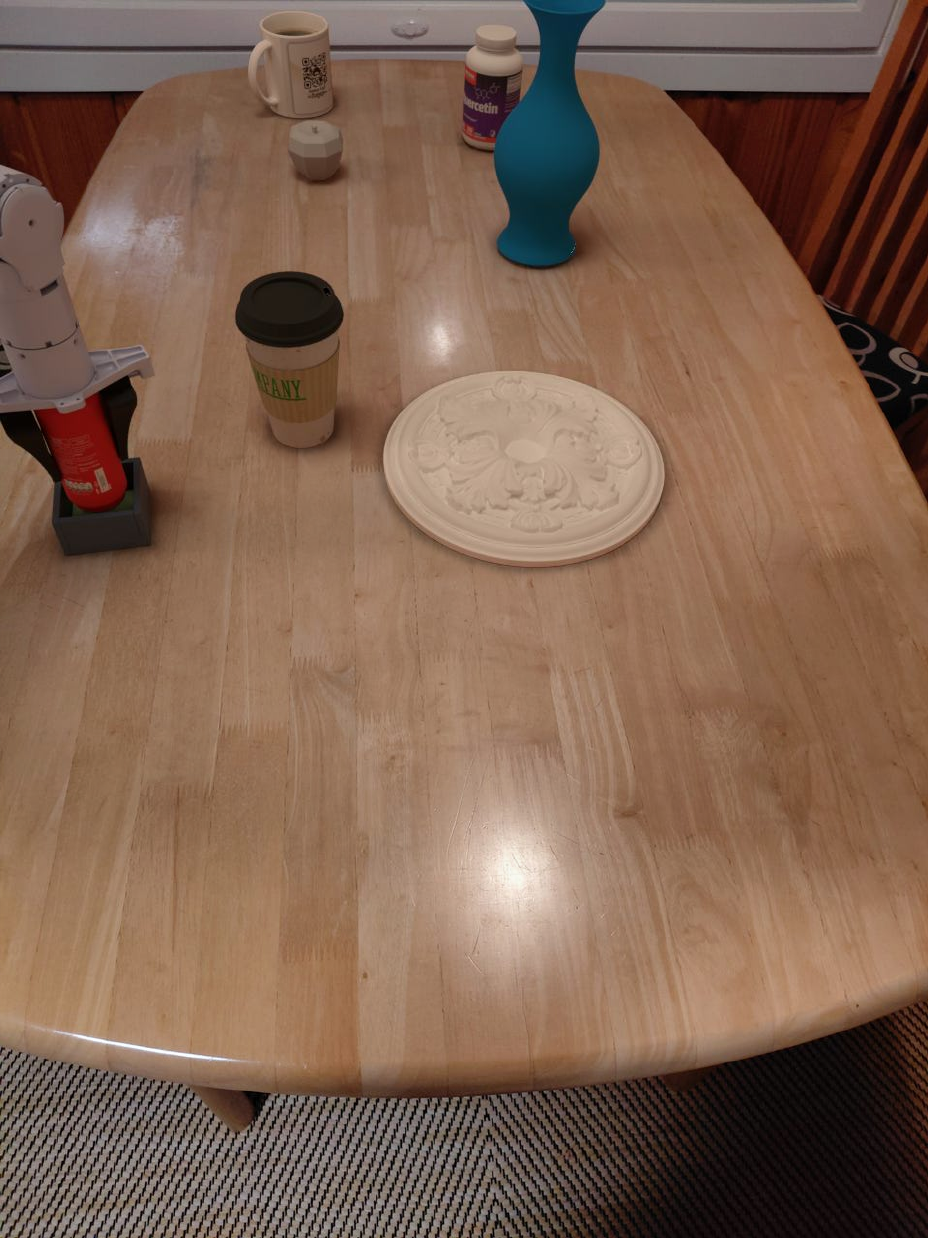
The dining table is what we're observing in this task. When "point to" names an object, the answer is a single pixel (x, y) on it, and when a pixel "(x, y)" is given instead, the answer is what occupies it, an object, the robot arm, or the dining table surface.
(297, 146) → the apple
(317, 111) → the mug
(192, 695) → the dining table surface
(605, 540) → the ceiling medallion
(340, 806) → the dining table surface
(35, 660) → the dining table surface
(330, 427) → the coffee cup
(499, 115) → the pill bottle
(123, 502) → the grey square box
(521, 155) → the vase
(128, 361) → the robot arm
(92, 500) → the beverage can
